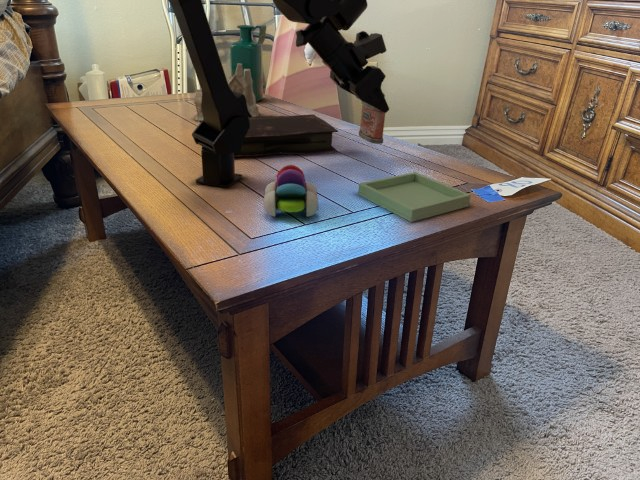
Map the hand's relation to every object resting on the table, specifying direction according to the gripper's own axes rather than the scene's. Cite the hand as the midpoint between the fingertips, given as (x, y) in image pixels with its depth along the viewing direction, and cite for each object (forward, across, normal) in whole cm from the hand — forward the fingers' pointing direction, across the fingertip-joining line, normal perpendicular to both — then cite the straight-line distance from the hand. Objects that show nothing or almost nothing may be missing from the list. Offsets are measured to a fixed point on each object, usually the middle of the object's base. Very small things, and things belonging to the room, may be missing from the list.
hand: (380, 106), depth 105 cm
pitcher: (-5, +64, +22) cm, 68 cm away
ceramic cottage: (-11, +41, +28) cm, 51 cm away
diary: (-6, +13, +22) cm, 27 cm away
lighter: (+4, 0, +6) cm, 7 cm away
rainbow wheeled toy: (-8, -25, +25) cm, 36 cm away
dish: (+7, -24, +9) cm, 26 cm away
